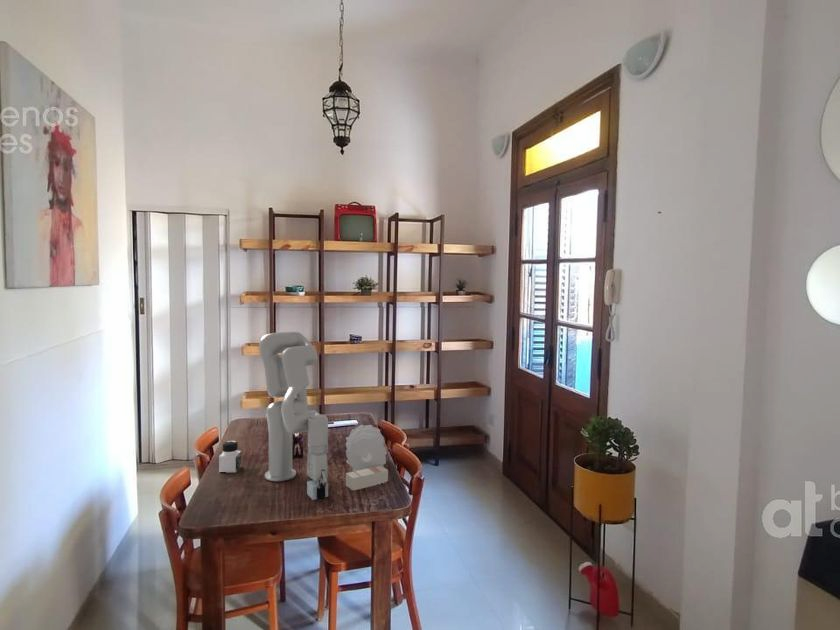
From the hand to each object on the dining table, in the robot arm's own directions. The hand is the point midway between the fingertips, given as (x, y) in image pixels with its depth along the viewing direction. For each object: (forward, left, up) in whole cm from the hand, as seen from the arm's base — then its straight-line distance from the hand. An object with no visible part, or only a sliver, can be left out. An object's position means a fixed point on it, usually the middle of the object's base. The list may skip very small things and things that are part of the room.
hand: (317, 494), depth 188 cm
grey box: (0, 0, -1) cm, 1 cm away
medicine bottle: (-44, -22, -1) cm, 49 cm away
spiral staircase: (-16, +29, -1) cm, 33 cm away
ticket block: (0, +21, -1) cm, 21 cm away
